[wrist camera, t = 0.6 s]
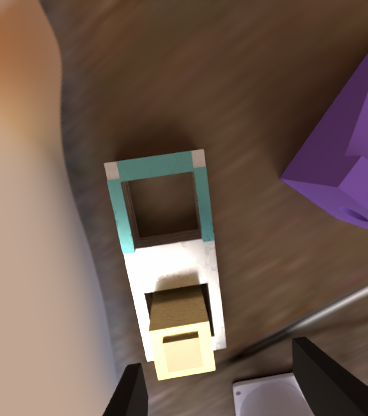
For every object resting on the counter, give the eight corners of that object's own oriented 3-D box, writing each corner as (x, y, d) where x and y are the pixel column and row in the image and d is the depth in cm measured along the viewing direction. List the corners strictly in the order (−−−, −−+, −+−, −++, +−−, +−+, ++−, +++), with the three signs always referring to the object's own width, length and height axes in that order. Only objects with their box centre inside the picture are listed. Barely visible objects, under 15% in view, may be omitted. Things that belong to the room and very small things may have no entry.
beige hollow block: (202, 311, 21) (216, 374, 14) (161, 317, 21) (158, 384, 14) (197, 274, 20) (209, 325, 14) (154, 280, 20) (147, 335, 13)
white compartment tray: (220, 326, 21) (227, 349, 18) (150, 338, 21) (147, 363, 18) (199, 150, 17) (204, 148, 15) (113, 163, 17) (103, 163, 14)
